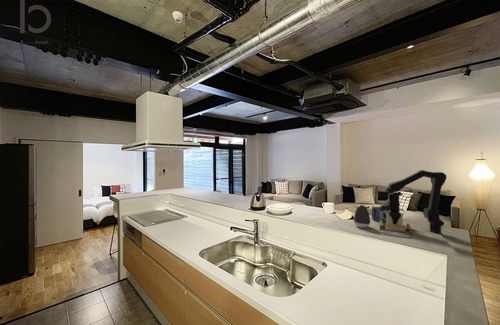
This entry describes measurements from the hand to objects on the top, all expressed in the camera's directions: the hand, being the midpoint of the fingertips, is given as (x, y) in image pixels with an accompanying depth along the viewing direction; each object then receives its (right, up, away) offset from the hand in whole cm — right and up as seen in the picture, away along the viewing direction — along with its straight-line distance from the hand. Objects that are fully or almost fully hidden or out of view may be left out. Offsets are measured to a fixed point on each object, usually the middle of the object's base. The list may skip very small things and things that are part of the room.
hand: (394, 224), depth 142 cm
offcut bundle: (-4, -3, -6) cm, 8 cm away
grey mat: (-8, -3, -13) cm, 16 cm away
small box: (+1, -3, +17) cm, 17 cm away
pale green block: (0, -3, 0) cm, 3 cm away
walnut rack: (-1, -3, -2) cm, 3 cm away
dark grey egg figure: (-20, -3, +3) cm, 21 cm away
